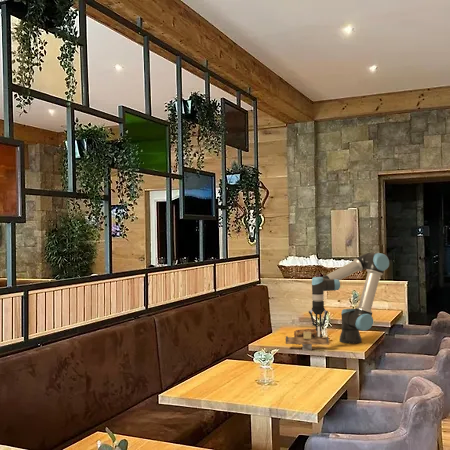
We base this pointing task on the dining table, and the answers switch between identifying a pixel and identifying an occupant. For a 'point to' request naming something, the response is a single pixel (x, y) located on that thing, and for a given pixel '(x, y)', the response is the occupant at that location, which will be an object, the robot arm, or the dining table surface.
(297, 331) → the bread
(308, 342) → the beam
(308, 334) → the block
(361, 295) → the robot arm
